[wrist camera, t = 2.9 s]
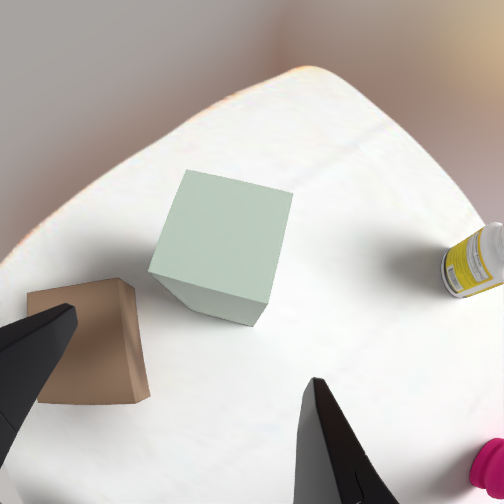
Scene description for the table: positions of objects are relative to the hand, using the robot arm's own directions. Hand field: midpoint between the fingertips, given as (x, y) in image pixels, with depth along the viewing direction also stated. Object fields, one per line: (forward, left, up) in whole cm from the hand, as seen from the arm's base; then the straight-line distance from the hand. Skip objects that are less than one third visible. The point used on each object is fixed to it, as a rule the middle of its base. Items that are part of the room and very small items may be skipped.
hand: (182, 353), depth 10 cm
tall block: (+5, +1, -13) cm, 14 cm away
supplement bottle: (+16, -19, -13) cm, 28 cm away
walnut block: (-5, +9, -13) cm, 17 cm away
